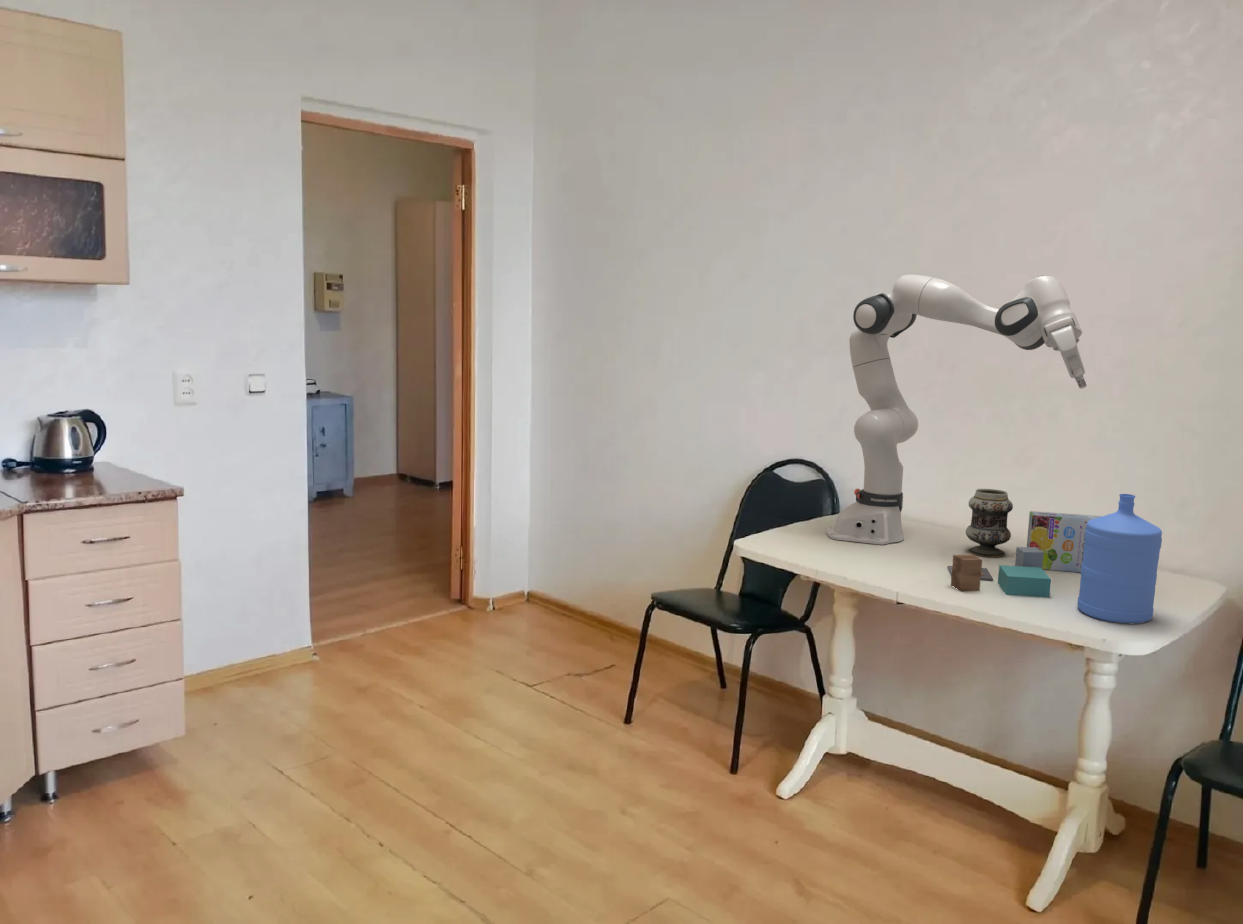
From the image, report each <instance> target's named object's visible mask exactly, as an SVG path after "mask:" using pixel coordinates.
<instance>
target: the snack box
mask: <svg viewBox="0 0 1243 924" xmlns="http://www.w3.org/2000/svg"><path fill="white" fill-rule="evenodd" d="M1102 516H1103V515H1093V514H1080V513H1079V514H1078V513H1077V514H1076V513H1062V512H1050V511H1049V512H1048V511H1047V512H1046V511H1032V510H1031V511H1029V516H1028V528H1027V537H1026V538H1027V539H1026V547H1036V548H1038V549H1039V550H1041V551H1042V552H1044V555H1043V565H1042V569H1043V570H1044V571H1045V570H1046V571H1047V570H1048V571H1049V570H1050V571H1056V572H1057V571H1059V572H1060V571H1061V572H1070V573H1081V565H1082V562H1083V553H1084V544H1085V539H1084V538H1085V529H1086V525H1087V522H1088V521H1089V520H1092V519H1095V518H1098V517H1102Z"/></svg>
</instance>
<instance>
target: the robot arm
mask: <svg viewBox="0 0 1243 924" xmlns="http://www.w3.org/2000/svg"><path fill="white" fill-rule="evenodd" d="M1070 305H1071V303H1070V299H1069V297H1068V295H1067V293H1066V290H1065V289H1064V286H1063V285H1062V283H1061V281H1059V279H1058V278H1056V277H1055V276H1051V275H1039V276H1036V277H1033V278H1031V279H1029V280H1027V282H1025V284H1024V286H1023V288H1022V289H1021V291H1019V292H1018V294H1017V295H1016V296H1015V297H1014V298H1012V299H1011V300H1010V301H1008V302H1006V303H1005V304H1003V305H1002V306H1000V308H996V307H992V306H989V305H986V304H984V303H982V302H980V301H979V300H977V299H975V297H973V296H972V295H970V294H969V293H968V292H966V291H965V290H964V289H962V288H961V287H959V286H958V285H956V284H954V283H952V282H950V281H948V280H945V279H942V278H938V277H934V276H929V275H923V274H911V273H910V274H904V275H901V276H900V277H899V278H898V279H897V280H896V281H895V283H894V285H893V287H892V290H891V292H890V293H888V294H885V293H883V292H881V293H879V294H876V295H873V296H870V297H866V298H865V299H863V300H861V301H860V302H858V304H856V306H855V307H854V311H853V315H852V316H853V317H852V319H853V323H854V325H855V326H856V328H857V329H855V330H853V332H851V334H850V337H849V340H848V341H849V354H850V359H851V365H852V371H853V374H854V378H855V382H856V387H857V391H858V394H859V395H860V396H861V397H862V398H863V399H864V401H865V402H866V403H867V405H868V407H869V409H870V410H869V411H867V412H866V413H864V414H863V415H861V416H859V417H858V418H857V420H856V421H855V424H854V427H853V433H854V437H855V439H856V440H857V441H858V442H859V444H860V448H861V450H862V457H863V463H864V466H863V467H864V472H863V474H864V475H863V488H862V489H860V488H855V490H854V495H855V502H853V503H852V504H850V505H849V506H846V507H845V508H844V509H842V510H841V511H840V512H838V514H837V516H836V519H835V523H834V525H833V526H830V527H828V528H827V531H826V535H827V537H829V538H830V539H832V540H837V541H845V542H856V543H862V544H863V543H864V544H872V545H873V544H874V545H880V546H881V545H887V544H892V543H898V542H902V541H904V540H905V537H904V532H903V524H902V511H903V506H904V493H903V477H904V465H903V463H902V462H901V460H900V458H899V454H898V453H899V452H898V444H901V443H905V442H906V441H908V440H909V439H911V438H912V437H914V435H915V434H916V433H917V431H918V428H919V421H918V420H919V419H918V417H917V415H916V414H915V412H913V411H912V410H911V408H910V407H909V405H908V404H907V403H906V401H905V399H904V397H903V395H902V392H901V391H900V389H899V388H900V387H899V386H898V383H897V380H896V376H895V372H894V369H893V365H892V364H893V363H892V361H891V357H890V356H891V355H890V353H889V348H888V341H889V339H890V338H892V339H895V338H896V337H897V336H899V335H900V334H902V333H903V332H905V331H907V330H908V329H910V327H912V326H913V324H914V323H915V321H916V320H917V316H920V317H924V318H928V319H931V320H934V321H935V320H936V321H941V322H948V323H956V324H960V325H965V326H966V325H967V326H972V327H976V328H977V329H982V330H984V331H988V332H991V333H994V334H997V335H1000V336H1003V337H1005V338H1006V339H1008V340H1009V341H1011V342H1012V343H1014V345H1016V346H1017V347H1018V348H1019V349H1022V350H1025V351H1032V350H1036V349H1038V348H1040V347H1042V346H1043V345H1044V344H1045V346H1046V347H1047V348H1052V350H1053V351H1055V352H1060V354H1061V358H1062V360H1063V362H1064V365H1065V367H1066V369H1067V372H1068V375H1069V377H1070V378H1071V379H1074V380H1075V381H1076V383H1077V385H1078V389H1082V390H1083V389H1085V388H1086V387H1087V382H1086V380H1085V377H1084V375H1085V374H1086V371H1085V367H1084V363H1083V361H1082V358H1081V355H1080V352H1079V348H1078V345H1077V344H1078V343H1079V342H1080V337H1081V336H1082V334H1083V331H1082V328H1081V326H1080V324H1079V321H1078V319H1077V316H1076V314H1075V313H1074V312H1073V310H1072V309H1071V306H1070Z"/></svg>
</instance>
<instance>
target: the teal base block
mask: <svg viewBox="0 0 1243 924" xmlns="http://www.w3.org/2000/svg"><path fill="white" fill-rule="evenodd" d="M997 575H998V576H997V584H998V586H999V587H1000V588H1001V590H1002V591H1003V592H1005V593H1004V595H1006V596H1018V597H1031V598H1032V597H1035V598H1050V594H1051V584H1052V582H1051V581H1052V578H1051V577H1050V576H1049V575H1048V574H1047V572H1045V570H1044V569H1042V568H1037V567H1022V566H1015V565H1008V564H1007V565H1004V564H999V565H998V574H997Z"/></svg>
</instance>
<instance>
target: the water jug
mask: <svg viewBox="0 0 1243 924" xmlns="http://www.w3.org/2000/svg"><path fill="white" fill-rule="evenodd" d="M1118 496H1119V501H1118V509H1117V511H1115V512H1112V513H1108V514H1105V515H1101V516H1102V517H1098V518H1095V519H1092V520H1089V521H1088V522H1087V525H1086V529H1085V538H1084V539H1085V544H1084V553H1083V562H1082V565H1081V572H1080V584H1079V592H1078V597H1077V603H1076V604H1077V607H1078V609H1079V610H1080V612H1082V613H1083V614H1085V615H1086V616H1090V617H1092V618H1094V619H1097V620H1102V621H1107V622H1109V623H1110V622H1112V623H1116V622H1118V624H1127V623H1136V624H1143V623H1142V622H1144V623H1146V622H1149V621H1150V620H1152V618H1153V616H1154V610H1155V609H1154V603H1155V593H1156V585H1157V578H1158V575H1157V574H1158V566H1159V560H1160V552H1161V549H1162V543H1163V539H1162V538H1163V537H1162V535H1163V531H1162V529H1161V528H1160V527H1158V526H1157V525H1155V524H1153V523H1152V522H1149V521H1147V520H1146V519H1144V518H1142V517H1140V516H1139V515H1137V514H1136V513H1135V512H1134V508H1135V507H1134V506H1135V498H1136V495H1134V494H1128V493H1121V494H1119V495H1118Z"/></svg>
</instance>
